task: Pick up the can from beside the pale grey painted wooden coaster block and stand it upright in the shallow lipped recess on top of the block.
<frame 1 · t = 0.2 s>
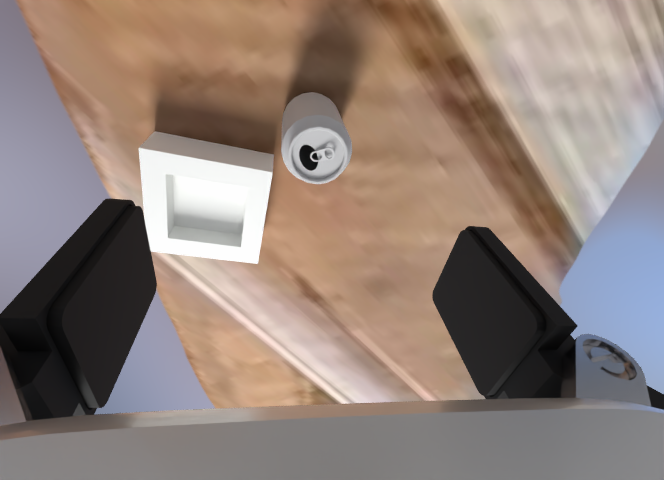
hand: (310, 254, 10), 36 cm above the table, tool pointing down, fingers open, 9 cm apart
can: (311, 120, 43), on the table
riser: (214, 191, 48), on the table
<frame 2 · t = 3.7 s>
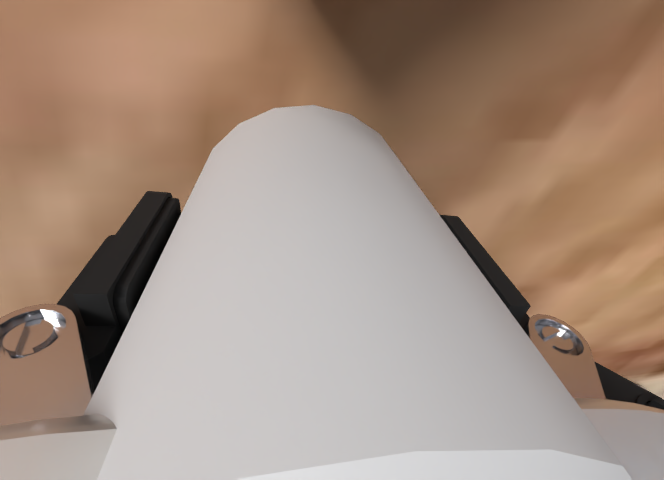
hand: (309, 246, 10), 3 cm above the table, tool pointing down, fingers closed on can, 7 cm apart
can: (304, 198, 13), on the table, touching gripper
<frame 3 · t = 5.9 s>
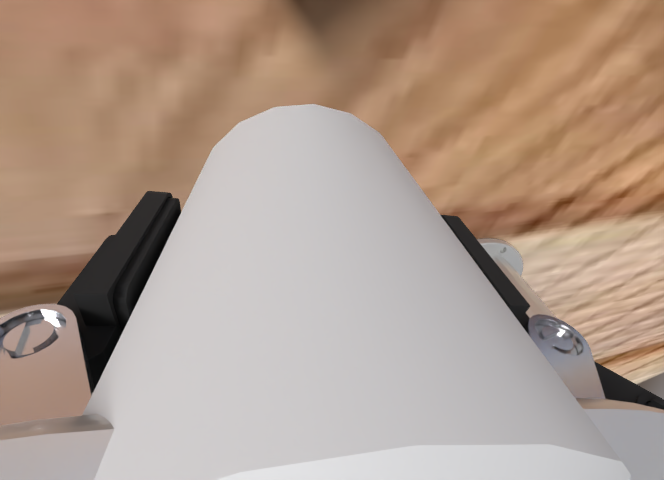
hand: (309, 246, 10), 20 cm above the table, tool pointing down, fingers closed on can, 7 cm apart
can: (304, 197, 13), point 17 cm above the table, touching gripper
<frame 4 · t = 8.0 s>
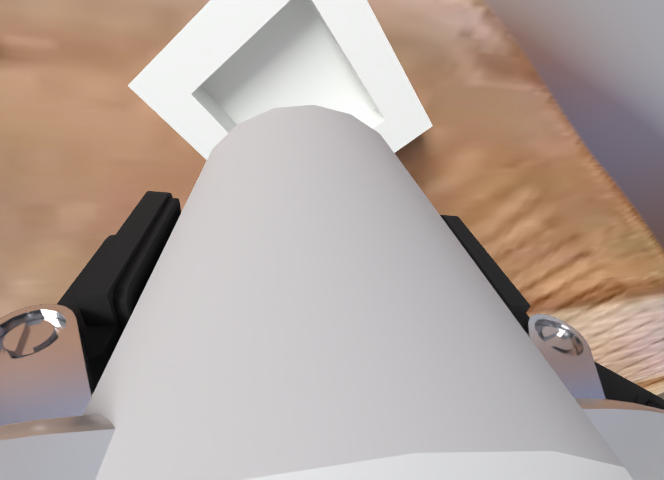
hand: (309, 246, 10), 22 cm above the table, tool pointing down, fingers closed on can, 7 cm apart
can: (304, 198, 13), point 19 cm above the table, touching gripper
riser: (291, 88, 28), on the table
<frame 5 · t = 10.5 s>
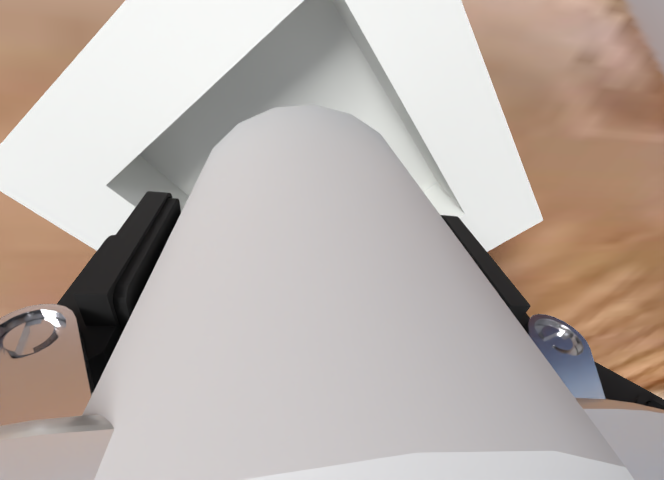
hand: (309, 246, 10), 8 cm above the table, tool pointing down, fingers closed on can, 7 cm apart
can: (304, 198, 13), point 5 cm above the table, touching gripper
riser: (298, 145, 17), on the table
when the fingers open (6 cm above the table, at t = 12.4 s): can stays where it is, resting on riser.
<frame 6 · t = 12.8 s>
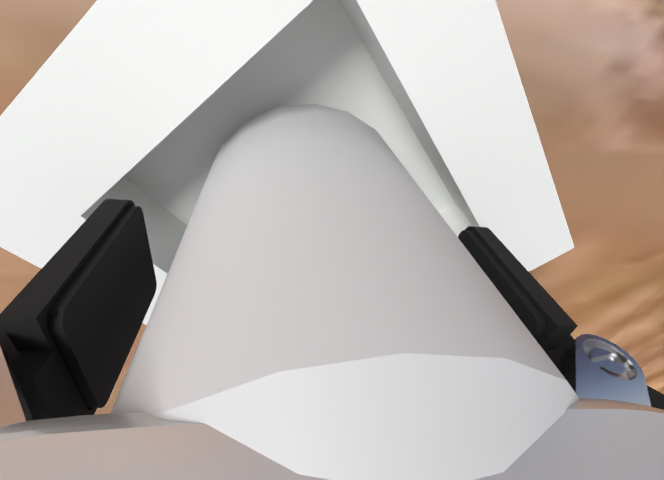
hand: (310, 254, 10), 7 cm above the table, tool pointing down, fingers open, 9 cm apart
can: (305, 191, 14), point 2 cm above the table, touching riser
riser: (300, 160, 16), on the table, touching can
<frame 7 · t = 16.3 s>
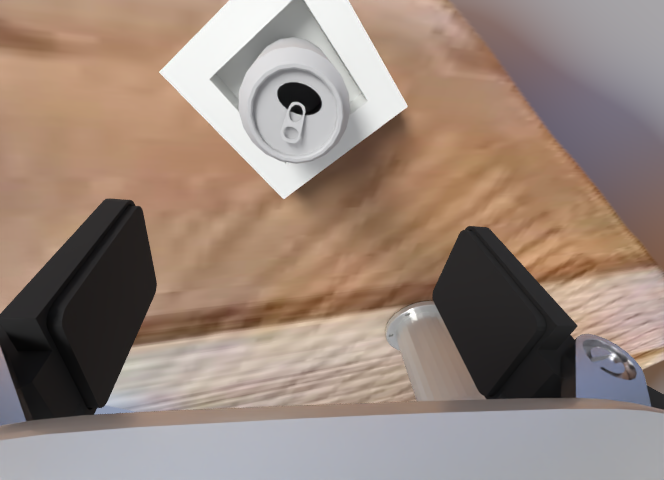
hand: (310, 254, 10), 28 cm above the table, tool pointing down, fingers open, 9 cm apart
can: (294, 82, 31), point 2 cm above the table, touching riser
riser: (290, 77, 33), on the table, touching can
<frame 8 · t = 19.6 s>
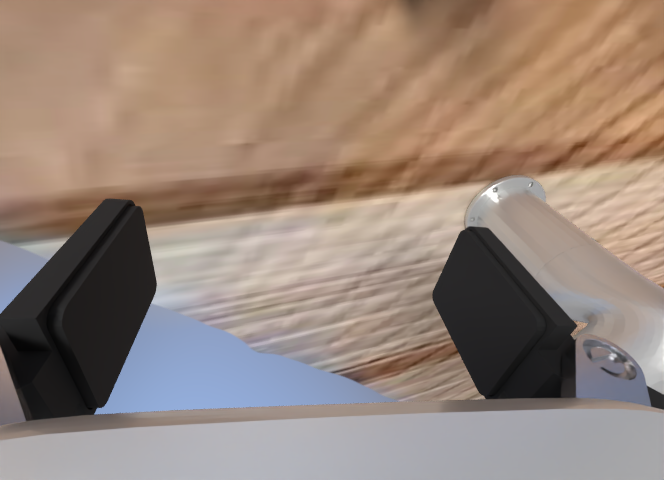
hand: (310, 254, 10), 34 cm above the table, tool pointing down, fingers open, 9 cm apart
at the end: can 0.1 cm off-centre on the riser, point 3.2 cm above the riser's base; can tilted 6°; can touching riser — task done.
